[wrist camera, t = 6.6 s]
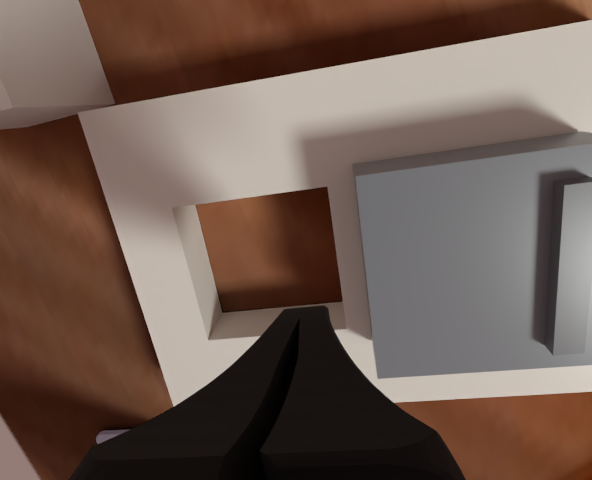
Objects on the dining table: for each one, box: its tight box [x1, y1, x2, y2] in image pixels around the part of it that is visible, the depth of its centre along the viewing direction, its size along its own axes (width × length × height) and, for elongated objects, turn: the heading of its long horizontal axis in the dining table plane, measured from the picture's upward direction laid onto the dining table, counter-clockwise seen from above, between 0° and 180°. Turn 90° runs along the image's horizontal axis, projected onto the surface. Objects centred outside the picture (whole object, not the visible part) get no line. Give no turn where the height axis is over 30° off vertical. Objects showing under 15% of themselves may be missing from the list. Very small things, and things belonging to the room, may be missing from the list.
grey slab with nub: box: [352, 131, 592, 379], centre depth 14 cm, size 8×8×3 cm
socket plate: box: [77, 20, 592, 406], centre depth 18 cm, size 15×20×2 cm
